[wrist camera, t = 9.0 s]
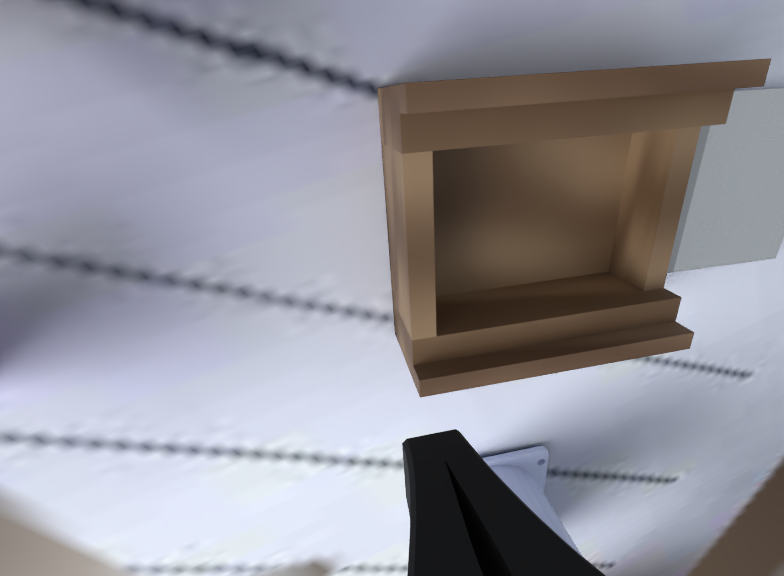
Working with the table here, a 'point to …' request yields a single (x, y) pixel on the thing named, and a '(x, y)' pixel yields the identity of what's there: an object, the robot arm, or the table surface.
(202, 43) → the table surface
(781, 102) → the cover plate
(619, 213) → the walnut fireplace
